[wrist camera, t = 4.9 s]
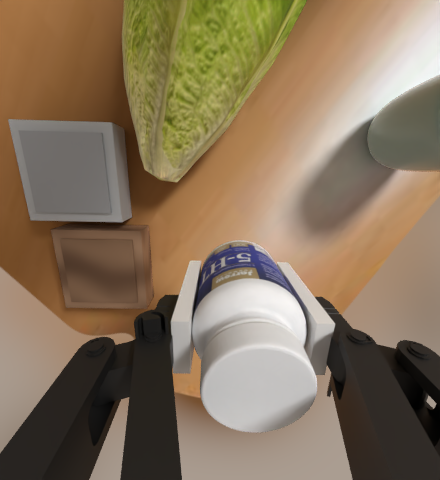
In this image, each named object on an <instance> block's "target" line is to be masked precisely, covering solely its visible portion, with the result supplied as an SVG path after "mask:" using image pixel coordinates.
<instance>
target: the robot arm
mask: <svg viewBox="0 0 440 480" xmlns="http://www.w3.org/2000/svg"><path fill="white" fill-rule="evenodd" d="M277 267H278V269H279V270H280V272H281V274H282V276H283V277H284V279H285V281H286V283H287V284H288V286H289V288H290V289H291V291H292V293H293V294H294V296H295V298H296V299H297V301H298V303H299V305H300V307H301V309H302V311H303V313H304V317H305V320H306V327H307V335H306V341H305V345H304V349H305V352H306V354H307V356H308V358H309V360H310V363H311V365H312V367H313V369H314V372H315V375H325V371H326V366H327V365H328V367H329V369H330V371H331V377H330V382H329V386H328V391H327V396H329V397H330V395H331V391H332V393H333V397H334V401H335V405H336V409H337V414H338V418H339V422H340V427H341V431H342V435H343V439H344V444H345V448H346V453H347V457H348V460H349V465H350V470H351V474H352V478H353V480H440V357H439V356H438V355H437V354H436V353H435V352H433V351H432V350H431V349H429V348H427V347H425V346H423V345H422V344H419V343H416V342H413V341H407V340H403V341H400V342H399V343H398V344H397V347H396V349H394V348H390V347H386V346H381V345H377V344H376V342H375V341H374V340H373V339H372V338H371V337H370V336H369V335H367V334H366V333H364V332H361V331H359V330H356V329H353V328H352V327H351V326H350V325H349V324H348V323H347V321H345V319H344V318H343V317H342V316H341V314H339V312H338V311H337V310H336V309H335V308H334V306H333V305H332V304H331V303H330V302H329V301H327V300H326V299H324V298H323V297H314V296H313V294H312V293H311V292H310V291H309V289H308V288H307V287H306V285H305V284H304V283H303V282H302V280H301V279H300V278H299V276H298V275H297V274H296V272H295V271H294V270H293V269H292V267H291V266H290V265H289V263H288V262H277ZM200 277H201V261H190V263H189V266H188V269H187V272H186V275H185V278H184V282H183V285H182V288H181V291H180V294H179V295H165V296H164V297H163V298H161V299H160V300H159V302H158V305H157V307H156V309H155V310H150V311H146V312H144V313H142V314H140V315H139V316H137V317H136V319H135V321H134V327H135V336H136V339H135V340H133V341H130V342H127V343H122V344H118V345H115V343H114V341H113V340H112V339H111V338H108V337H100V338H96V339H93V340H90V341H88V342H87V343H85V344H84V345H82V346H81V348H79V349H78V351H77V352H76V353H75V355H74V356H73V358H72V359H71V360H70V361H69V363H68V364H67V365H66V367H65V368H64V369H63V371H62V372H61V374H60V375H59V376H58V377H57V379H56V380H55V381H54V383H53V384H52V385H51V387H50V388H49V390H48V391H47V392H46V393H45V395H44V396H43V397H42V399H41V400H40V401H39V403H38V404H37V405H36V407H35V408H34V409H33V411H32V412H31V413H30V415H29V416H28V417H27V419H26V420H25V422H24V423H23V424H22V425H21V427H20V428H19V429H18V431H17V432H16V433H15V435H14V436H13V437H12V439H11V440H10V441H9V443H8V444H7V445H6V447H5V448H4V449H3V451H2V452H1V453H0V480H89V478H90V476H91V474H92V471H93V469H94V466H95V464H96V461H97V459H98V456H99V453H100V451H101V449H102V446H103V443H104V441H105V438H106V436H107V433H108V431H109V428H110V426H111V423H112V421H113V418H114V416H115V413H116V411H117V408H118V406H119V403H120V401H121V399H124V398H127V397H129V406H128V416H127V425H126V434H125V443H124V452H123V461H122V470H121V479H120V480H182V476H181V464H180V454H179V442H178V431H177V420H176V409H175V397H174V386H173V375H172V367H173V373H190V372H191V365H192V357H193V350H194V344H193V340H192V322H193V315H194V310H195V304H196V299H197V293H198V288H199V283H200ZM428 395H429V396H430V397H431V398H432V399H433V400H434V401H435V402H436V403H437V404H436V407H435V408H434V409H433V408H432V407H431V406H430V405H429V404H428V403H427V402H426V400H427V398H428Z"/></svg>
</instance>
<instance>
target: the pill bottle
mask: <svg viewBox="0 0 440 480" xmlns="http://www.w3.org/2000/svg"><path fill="white" fill-rule="evenodd" d="M306 335H307V327H306V320H305V317H304V313H303V311H302V309H301V307H300V305H299V303H298V301H297V299H296V298H295V296H294V294H293V293H292V291H291V289H290V288H289V286H288V284H287V283H286V281H285V279H284V277H283V276H282V274H281V272H280V270H279V269H278V267H277V265H276V264H275V262H274V260H273V259H272V257H271V256H270V254H269V253H268V252H267V251H266V250H265V249H264V248H262V247H261V246H259V245H257V244H255V243H253V242H249V241H243V240H236V241H230V242H227V243H224V244H222V245H220V246H218V247H217V248H215V249H214V250H213V251H212V252H211V253H210V254H209V255H208V257H207V258H206V260H205V262H204V264H203V268H202V272H201V277H200V283H199V288H198V293H197V299H196V304H195V310H194V315H193V322H192V340H193V344H194V347H195V350H196V352H197V354H198V356H199V357H200V359H201V360H202V361H201V381H200V394H201V399H202V402H203V405H204V407H205V408H206V410H207V411H208V413H209V414H210V415H211V416H212V417H213V418H214V419H215V420H216V421H218V422H220V423H221V424H223V425H225V426H227V427H229V428H232V429H235V430H239V431H243V432H268V431H273V430H277V429H280V428H282V427H285V426H288V425H290V424H292V423H293V422H295V421H296V420H298V419H299V418H301V417H302V416H303V415H304V414H305V413H306V412H307V411H308V410H309V409H310V407H311V405H312V404H313V402H314V400H315V397H316V392H317V379H316V375H315V372H314V369H313V367H312V365H311V363H310V360H309V358H308V356H307V354H306V352H305V349H304V345H305V341H306Z"/></svg>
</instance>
